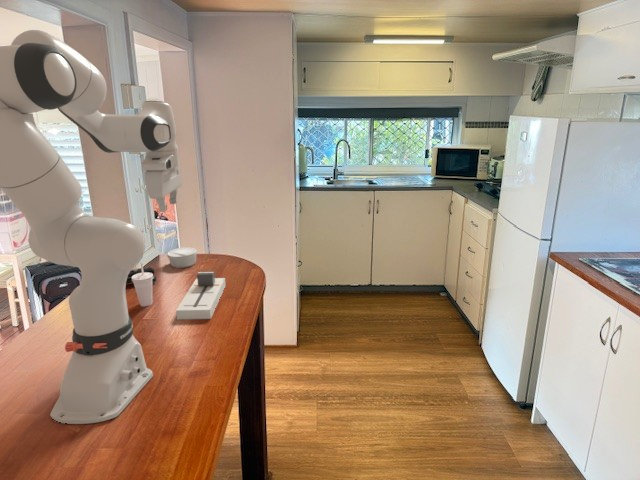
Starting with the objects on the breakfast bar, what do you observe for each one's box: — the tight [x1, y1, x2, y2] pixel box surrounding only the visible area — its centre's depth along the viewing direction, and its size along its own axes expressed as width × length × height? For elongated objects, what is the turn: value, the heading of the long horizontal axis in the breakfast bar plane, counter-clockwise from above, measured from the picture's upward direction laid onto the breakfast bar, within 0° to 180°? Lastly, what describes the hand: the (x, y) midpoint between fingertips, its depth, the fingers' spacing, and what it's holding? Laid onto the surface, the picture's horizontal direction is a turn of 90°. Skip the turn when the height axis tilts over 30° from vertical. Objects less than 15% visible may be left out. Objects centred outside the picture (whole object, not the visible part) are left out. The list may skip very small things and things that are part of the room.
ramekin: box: [167, 246, 198, 269], centre depth 171 cm, size 11×11×5 cm
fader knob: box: [196, 270, 216, 286], centre depth 143 cm, size 3×5×4 cm, turn 92°
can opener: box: [126, 267, 157, 285], centre depth 152 cm, size 18×7×6 cm, turn 112°
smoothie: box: [132, 261, 154, 307], centre depth 136 cm, size 6×6×14 cm
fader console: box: [175, 277, 226, 320], centre depth 139 cm, size 24×10×3 cm, turn 1°
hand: (168, 207), depth 127 cm, fingers open, 8 cm apart
